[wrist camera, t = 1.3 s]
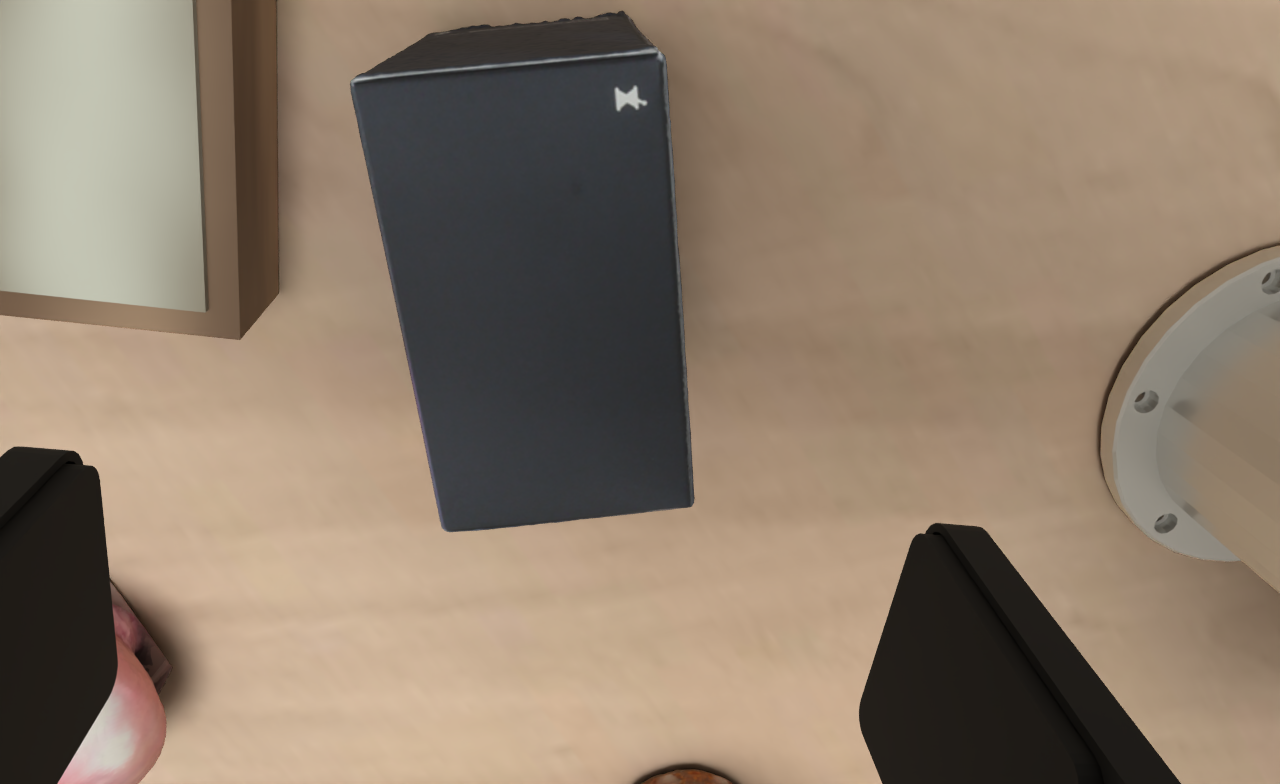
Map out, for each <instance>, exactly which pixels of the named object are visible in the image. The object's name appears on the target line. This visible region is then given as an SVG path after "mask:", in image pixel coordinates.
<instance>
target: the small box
mask: <svg viewBox="0 0 1280 784" xmlns="http://www.w3.org/2000/svg"><path fill="white" fill-rule="evenodd" d="M350 86H351V95H352V100H353V105H354V109H355V113H356V117H357V122H358V127H359V133H360V138H361V142H362V147H363V151H364V156H365V160H366V165H367V170H368V175H369V179H370V184H371V189H372V194H373V198H374V203H375V208H376V212H377V217H378V222H379V227H380V231H381V236H382V241H383V246H384V250H385V255H386V260H387V264H388V269H389V274H390V279H391V283H392V288H393V293H394V297H395V302H396V307H397V312H398V317H399V321H400V326H401V331H402V336H403V341H404V346H405V350H406V355H407V360H408V365H409V370H410V375H411V379H412V384H413V389H414V394H415V399H416V404H417V409H418V413H419V418H420V423H421V428H422V433H423V438H424V443H425V448H426V453H427V458H428V463H429V468H430V473H431V478H432V483H433V488H434V493H435V498H436V503H437V507H438V512H439V517H440V522H441V526H442V528H443V529H444V531H447V532H458V531H477V530H488V529H497V528H506V527H517V526H524V525H535V524H543V523H557V522H564V521H572V520H579V519H589V518H600V517H609V516H618V515H627V514H636V513H644V512H652V511H661V510H671V509H677V508H688V507H692V505H693V503H694V486H693V467H692V450H691V432H690V417H689V405H688V388H687V367H686V356H685V337H684V319H683V306H682V287H681V274H680V261H679V249H678V237H677V214H676V201H675V179H674V167H673V149H672V140H671V121H670V116H669V93H668V79H667V64H666V58H665V55H664V54H662V53H661V52H660V51H659V50H658V49H657V47H655V46H654V45H653V44H652V43H651V42H650V41H649V40H648V39H647V38H646V37H645V36H644V35H642V33H641V32H640V31H639V30H638V29H637V28H636V26H635V24H634V22H633V20H632V19H630V18H629V17H628V16H627V15H626V14H625V13H624V12H623V11H619V12H618V14H615V13H606V14H603V15H598V16H596V17H594V18H589V19H584V18H582V17H575V18H574V19H572V20H570V19H567V18H564V19H560V20H558V21H554V22H547V21H544V22H541V23H530V24H518V23H515V24H512V25H506V26H496V27H491V26H489V25H480V26H471V27H467V28H460V29H456V30H450V31H446V32H440V33H431V34H428V35H426V36H425V37H424V38H422V39H421V40H419V41H418V42H416V43H415V44H413V45H411V46H409V47H407V48H406V49H405V50H403V51H401V52H399V53H397V54H396V55H395V56H392V57H391V58H388V59H387V60H386V61H384V62H382V63H380V64H378V65H377V66H375V67H374V68H372V69H371V70H369V71H367V72H365V73H362V74H359V75H357V76H356V77H355V78H354V79H353V80H351V83H350Z"/></svg>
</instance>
